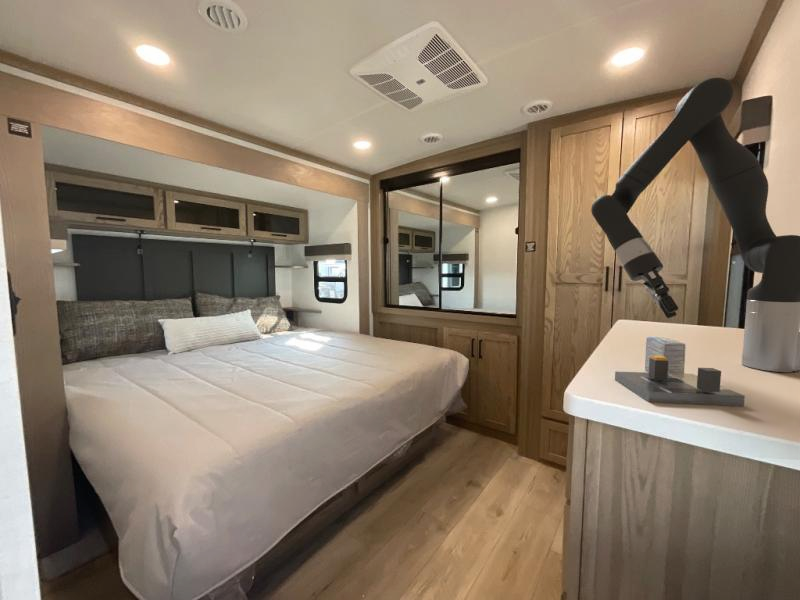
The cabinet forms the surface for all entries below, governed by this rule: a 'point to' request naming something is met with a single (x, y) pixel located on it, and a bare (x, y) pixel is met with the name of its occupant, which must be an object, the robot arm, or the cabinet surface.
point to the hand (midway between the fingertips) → (673, 314)
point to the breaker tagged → (658, 367)
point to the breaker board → (676, 389)
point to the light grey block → (666, 353)
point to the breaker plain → (709, 379)
